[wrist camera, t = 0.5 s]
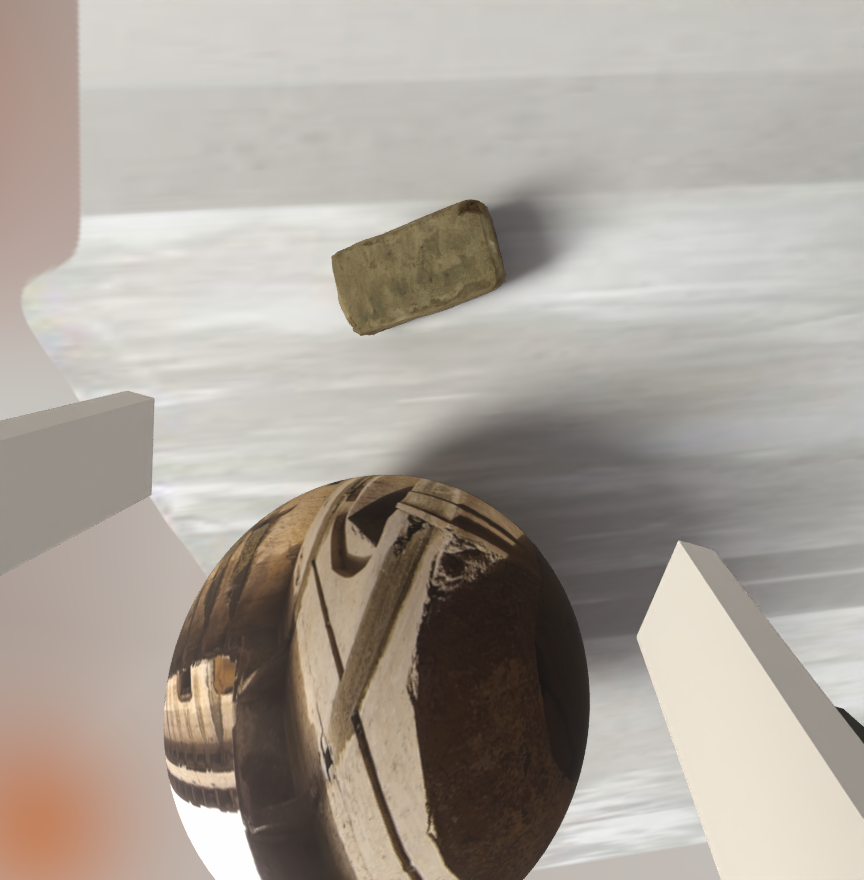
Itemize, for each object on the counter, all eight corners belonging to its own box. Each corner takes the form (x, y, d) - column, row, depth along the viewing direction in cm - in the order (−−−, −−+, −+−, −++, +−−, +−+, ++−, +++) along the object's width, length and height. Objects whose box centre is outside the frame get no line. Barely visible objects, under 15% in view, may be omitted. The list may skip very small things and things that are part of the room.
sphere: (597, 663, 42) (697, 1122, 19) (345, 697, 48) (180, 1076, 25) (523, 396, 37) (533, 566, 13) (250, 471, 43) (-78, 681, 19)
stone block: (514, 285, 34) (507, 285, 29) (372, 336, 38) (346, 344, 33) (489, 201, 33) (478, 187, 28) (345, 263, 36) (314, 259, 32)
